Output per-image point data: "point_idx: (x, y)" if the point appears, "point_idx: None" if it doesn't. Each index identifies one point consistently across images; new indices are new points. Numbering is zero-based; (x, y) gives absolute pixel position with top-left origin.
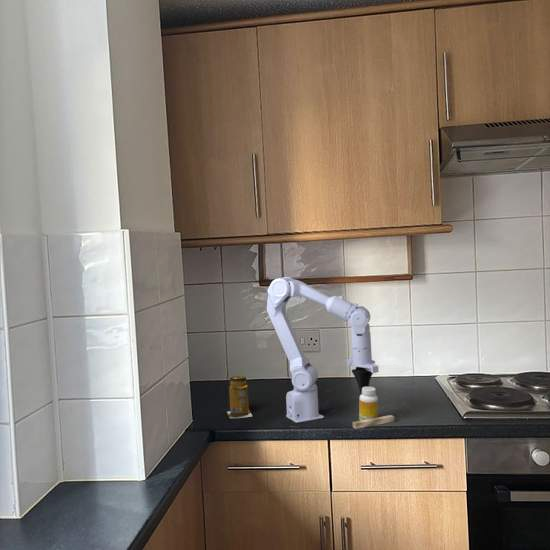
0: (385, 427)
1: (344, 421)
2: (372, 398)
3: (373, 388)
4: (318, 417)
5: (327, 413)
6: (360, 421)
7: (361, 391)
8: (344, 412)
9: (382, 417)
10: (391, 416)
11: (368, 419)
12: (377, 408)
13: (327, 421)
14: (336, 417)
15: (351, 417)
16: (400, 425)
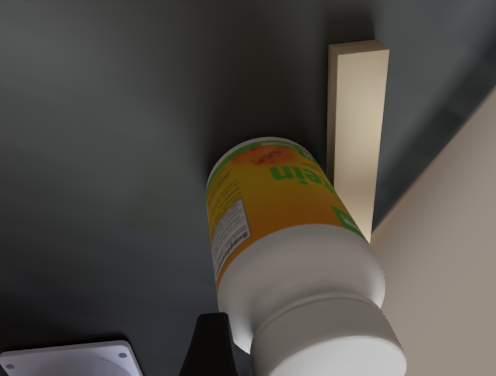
0: (437, 151)
1: (213, 283)
2: (381, 303)
3: (354, 350)
4: (132, 363)
5: (35, 306)
6: None
7: (237, 372)
8: (34, 236)
9: (355, 140)
10: (378, 71)
11: None
12: (330, 190)
13: (179, 336)
14: (127, 293)
15: (155, 236)
16: (475, 45)
